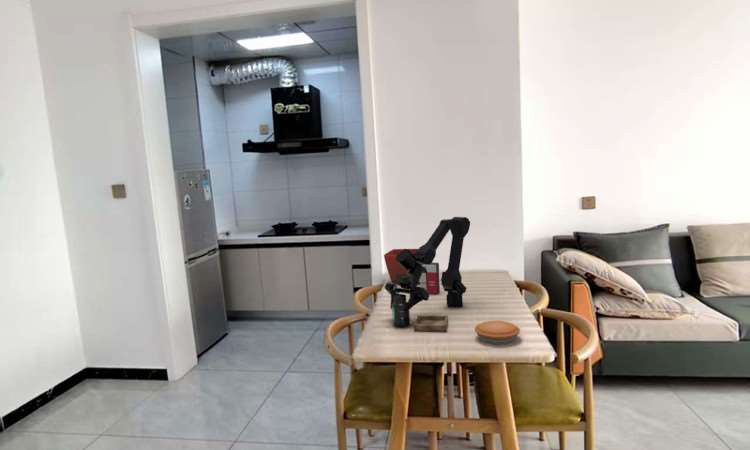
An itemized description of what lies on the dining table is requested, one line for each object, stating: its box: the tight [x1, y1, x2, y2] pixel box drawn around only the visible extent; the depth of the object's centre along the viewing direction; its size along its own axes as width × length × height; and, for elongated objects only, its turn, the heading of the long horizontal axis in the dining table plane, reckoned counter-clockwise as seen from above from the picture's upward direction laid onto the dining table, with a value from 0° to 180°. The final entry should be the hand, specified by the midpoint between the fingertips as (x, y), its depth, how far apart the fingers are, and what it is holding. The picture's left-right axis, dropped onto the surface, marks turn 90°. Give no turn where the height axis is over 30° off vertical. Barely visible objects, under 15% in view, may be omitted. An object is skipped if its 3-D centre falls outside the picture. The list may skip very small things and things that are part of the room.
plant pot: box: [383, 248, 419, 285], centre depth 255 cm, size 19×19×17 cm
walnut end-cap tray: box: [413, 314, 449, 333], centre depth 181 cm, size 12×12×2 cm
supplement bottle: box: [391, 293, 411, 329], centre depth 184 cm, size 7×7×12 cm
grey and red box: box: [417, 262, 441, 295], centre depth 229 cm, size 11×4×15 cm, turn 68°
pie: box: [474, 320, 521, 345], centre depth 164 cm, size 15×16×5 cm
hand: (398, 309), depth 183 cm, fingers closed on supplement bottle, 7 cm apart
